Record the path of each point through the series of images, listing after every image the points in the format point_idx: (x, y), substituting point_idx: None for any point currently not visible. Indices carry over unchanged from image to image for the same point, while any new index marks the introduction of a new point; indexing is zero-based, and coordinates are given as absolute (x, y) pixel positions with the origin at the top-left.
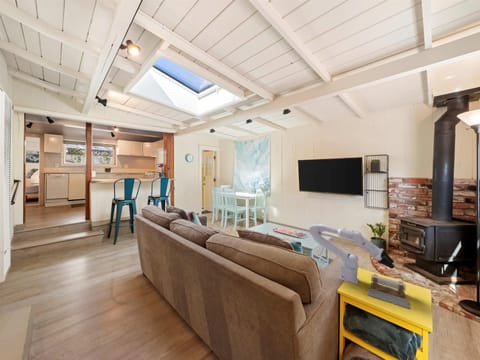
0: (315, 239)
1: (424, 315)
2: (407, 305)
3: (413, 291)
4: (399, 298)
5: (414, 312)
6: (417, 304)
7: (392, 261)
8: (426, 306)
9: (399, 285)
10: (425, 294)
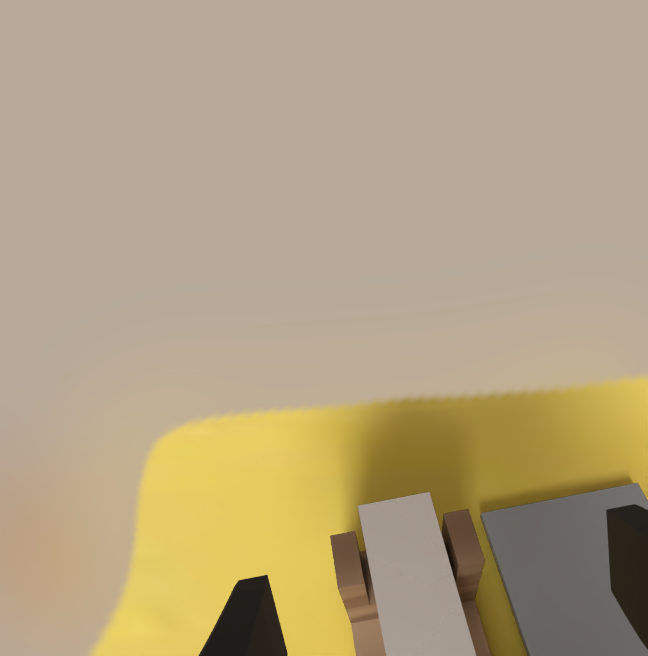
0: None
1: (598, 396)
2: (604, 502)
3: (210, 502)
4: (533, 583)
5: (637, 453)
6: (457, 450)
7: (273, 615)
8: (424, 399)
9: (481, 555)
10: (200, 423)
